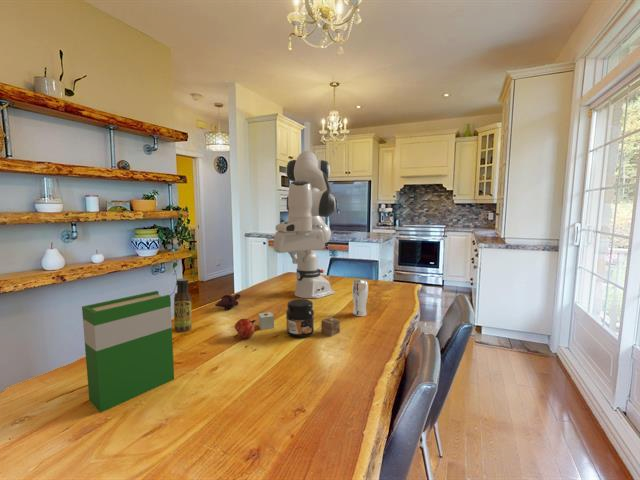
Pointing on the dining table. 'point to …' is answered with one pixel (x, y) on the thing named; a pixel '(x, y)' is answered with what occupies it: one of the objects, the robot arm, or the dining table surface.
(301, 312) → the supplement container
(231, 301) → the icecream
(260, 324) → the sage cube
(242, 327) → the pomegranate
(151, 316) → the hardback book
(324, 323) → the walnut cube
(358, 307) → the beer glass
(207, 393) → the dining table surface
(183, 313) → the sauce bottle
